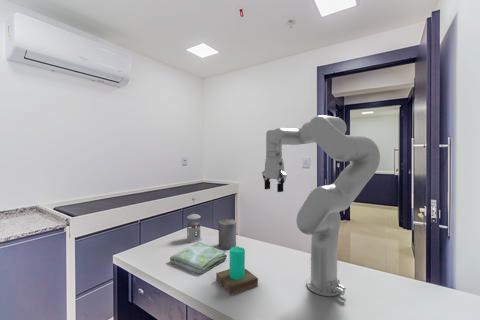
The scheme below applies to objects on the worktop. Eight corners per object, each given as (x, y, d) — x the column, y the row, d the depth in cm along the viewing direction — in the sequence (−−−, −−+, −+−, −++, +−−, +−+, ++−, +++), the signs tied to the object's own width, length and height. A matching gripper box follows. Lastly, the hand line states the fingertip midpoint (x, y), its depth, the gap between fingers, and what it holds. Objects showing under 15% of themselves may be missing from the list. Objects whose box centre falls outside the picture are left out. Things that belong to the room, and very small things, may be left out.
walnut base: (257, 285, 92) (257, 278, 92) (230, 295, 86) (230, 287, 86) (241, 272, 102) (241, 265, 102) (216, 280, 96) (216, 273, 96)
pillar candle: (221, 241, 137) (221, 216, 137) (237, 243, 136) (237, 217, 135) (216, 248, 128) (216, 221, 127) (234, 250, 126) (233, 222, 125)
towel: (202, 276, 100) (202, 264, 99) (169, 263, 112) (169, 252, 112) (228, 260, 115) (228, 250, 114) (196, 250, 127) (196, 240, 126)
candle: (239, 281, 90) (239, 249, 89) (226, 276, 93) (226, 246, 93) (247, 274, 95) (247, 244, 94) (235, 270, 98) (235, 241, 98)
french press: (182, 242, 137) (182, 199, 136) (190, 235, 148) (190, 195, 147) (199, 243, 135) (198, 199, 134) (205, 236, 146) (205, 196, 146)
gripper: (292, 155, 110) (291, 192, 110) (268, 155, 125) (268, 187, 125) (279, 155, 106) (279, 193, 106) (257, 155, 121) (256, 188, 121)
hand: (273, 190), depth 116 cm, fingers open, 9 cm apart
